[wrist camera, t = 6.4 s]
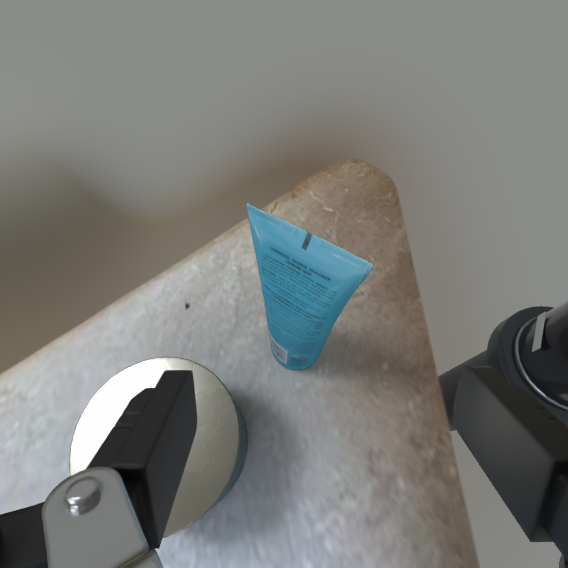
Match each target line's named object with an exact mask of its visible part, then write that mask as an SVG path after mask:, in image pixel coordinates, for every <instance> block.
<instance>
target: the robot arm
mask: <svg viewBox="0 0 568 568" xmlns="http://www.w3.org/2000/svg"><path fill="white" fill-rule="evenodd" d="M512 356H513V361H514V364H515V367H516V369H517V372H518V373H519V375H520V377H521V379H522V380H523V382H524V383H525V384H526V385H527V387H528V388H529V389H530V390H531V391H532V392H533V393H534V394H535V395H536V396H538V397H539V398H540V399H542V400H543V401H544V402H546V403H548V404H549V405H551V406H553V407H555V408H558V409H560V410H564V411H567V412H568V300H567V301H565V302H564V303H562V304H560V305H558V306H557V307H555V308H553V309H551V310H549V311H548V312H544V313H542V314H540V315H539V316H538V317H535V318H533V319H531V320H529V321H528V322H526V323H525V324H523V325H522V326H521V327H520V328H519V329H518V330H517V332H516V334H515V336H514V339H513V343H512ZM453 418H454V423H455V427H456V429H457V431H458V433H459V435H460V436H461V437H462V439H463V441H464V442H465V444H466V445H467V447H468V448H469V450H470V451H471V452H472V454H473V456H474V457H475V458H476V460H477V461H478V463H479V465H480V466H481V468H482V469H483V471H484V472H485V474H486V475H487V477H488V478H489V480H490V481H491V483H492V484H493V486H494V487H495V489H496V490H497V492H498V493H499V495H500V496H501V498H502V499H503V501H504V502H505V504H506V505H507V507H508V508H509V510H510V511H511V513H512V514H513V516H514V517H515V519H516V520H517V522H518V523H519V525H520V526H521V528H522V529H523V531H524V532H525V534H526V535H527V537H528V538H529V540H530V542H554V543H555V545H556V546H557V547H558V549H559V550H560V551H561V553H562V555H561V558H560V562H559V568H568V427H567V426H566V425H565V424H564V423H563V422H562V421H558V418H557V417H556V416H555V415H554V414H553V413H552V412H551V411H550V410H549V409H546V407H545V406H544V405H543V404H542V403H541V402H540V401H539V400H538V399H537V398H535V397H534V396H533V395H532V394H531V393H529V392H527V391H525V390H524V389H522V388H520V387H518V386H517V385H515V384H513V383H509V382H508V381H507V380H506V379H505V378H504V377H503V376H502V375H501V374H500V373H499V372H498V371H497V370H496V369H495V368H493V367H491V366H464V367H462V369H461V370H460V373H459V379H458V385H457V391H456V396H455V402H454V408H453ZM196 429H197V407H196V397H195V388H194V378H193V373H192V371H191V370H165V371H164V372H163V374H162V376H161V377H160V379H159V381H158V383H157V384H156V386H155V388H145V389H143V390H142V391H141V392H140V393H138V394H137V395H136V396H134V397H133V398H132V399H131V400H130V401H129V403H128V405H127V406H126V408H125V409H124V411H123V412H122V415H120V417H119V418H118V420H117V422H116V423H115V427H113V428H112V429H111V431H110V432H109V434H108V435H107V437H106V439H105V440H104V442H103V443H102V445H101V446H100V448H99V449H98V451H97V452H96V454H95V456H94V457H93V459H92V460H91V462H90V463H89V465H88V466H87V468H86V469H85V470H82V471H80V472H77V473H75V474H73V475H71V476H70V477H68V478H67V479H65V480H64V481H62V482H61V483H60V484H59V485H57V486H56V487H55V488H54V489H53V491H52V492H51V493H50V494H49V495H48V497H47V499H46V500H45V502H43V503H40V504H37V505H34V506H30V507H27V508H23V509H19V510H16V511H12V512H8V513H5V514H1V515H0V568H163V565H162V563H161V561H160V558H159V556H158V554H157V552H156V550H155V549H154V548H159V547H160V544H161V541H162V538H163V535H164V532H165V529H166V525H167V522H168V519H169V516H170V513H171V510H172V507H173V504H174V500H175V497H176V494H177V491H178V488H179V485H180V482H181V479H182V475H183V472H184V469H185V466H186V463H187V460H188V457H189V454H190V450H191V447H192V444H193V441H194V438H195V434H196Z"/></svg>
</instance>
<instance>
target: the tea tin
mask: <svg viewBox="0 0 568 568" xmlns="http://www.w3.org/2000/svg"><path fill="white" fill-rule="evenodd" d="M165 370H191V371H192V373H193V378H194V388H195V397H196V407H197V429H196V434H195V438H194V441H193V444H192V447H191V450H190V454H189V457H188V460H187V463H186V466H185V469H184V472H183V475H182V479H181V482H180V485H179V488H178V491H177V494H176V497H175V500H174V504H173V507H172V510H171V513H170V516H169V519H168V522H167V525H166V529H165V532H164V535H163V538H164V537H168V536H170V535H172V534H175V533H177V532H179V531H181V530H183V529H185V528H186V527H188V526H190V525H191V524H193V523H194V522H195V521H197V520H198V519H199V518H201V517H202V516H203V515H204V514H205V513H206V512H207V511H208V510H209V509H210V508H212V507H213V506H214V505H216V504H217V503H218V502H219V501H220V500H222V499H223V498H224V497H225V496H226V495H227V493H228V492H229V491H230V490H231V488H232V487H233V485H234V484H235V482H236V481H237V479H238V477H239V475H240V473H241V470H242V467H243V465H244V461H245V457H246V452H247V431H246V425H245V422H244V418H243V416H242V414H241V411H240V409H239V408H238V406H237V404H236V403H235V402H234V400H233V399H232V396H231V395H230V393H229V391H228V390H227V388H226V387H225V385H224V384H223V383H222V382H221V380H220V379H219V378H218V377H217V376H216V375H215V374H214V373H213V372H211V371H210V370H208V369H207V368H205V367H204V366H202V365H200V364H198V363H196V362H193V361H190V360H187V359H182V358H177V357H161V358H154V359H149V360H145V361H142V362H139V363H136V364H134V365H132V366H130V367H128V368H126V369H124V370H123V371H121V372H119V373H118V374H117V375H115V376H114V377H113V378H111V379H110V380H109V381H108V382H107V383H106V384H104V385H103V386H102V387H101V388H100V389H99V391H98V392H97V393H96V394H95V395H94V396H93V398H92V399H91V401H90V402H89V403H88V405H87V406H86V408H85V410H84V412H83V413H82V415H81V417H80V419H79V422H78V424H77V427H76V429H75V433H74V436H73V439H72V444H71V450H70V463H69V465H70V476H71V475H73V474H75V473H77V472H80V471H82V470H85V469H86V468H87V466H88V465H89V463H90V462H91V460H92V459H93V457H94V456H95V454H96V452H97V451H98V449H99V448H100V446H101V445H102V443H103V442H104V440H105V439H106V437H107V435H108V434H109V432H110V431H111V429H112V428H113V427H115V423H116V422H117V420H118V418H119V417H120V415H122V412H123V411H124V409H125V408H126V406H127V405H128V403H129V401H130V400H131V399H132V398H133V397H134V396H136V395H137V394H138V393H140V392H141V391H142V390H143V389H145V388H155V386H156V384H157V383H158V381H159V379H160V377H161V376H162V374H163V372H164V371H165Z"/></svg>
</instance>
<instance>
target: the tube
mask: <svg viewBox="0 0 568 568" xmlns="http://www.w3.org/2000/svg"><path fill="white" fill-rule="evenodd" d="M246 207H247V213H248V219H249V223H250V228H251V233H252V238H253V243H254V248H255V253H256V259H257V264H258V269H259V275H260V280H261V286H262V292H263V297H264V303H265V309H266V315H267V322H268V328H269V335H270V341H271V348H272V352H273V355H274V357H275V358H276V360H277V361H278V362H279V363H280V364H281V365H282V366H284V367H286V368H289V369H293V370H301V369H305V368H307V367H309V366H311V365H312V364H313V363H314V362H315V361H316V360H317V358H318V356H319V354H320V352H321V350H322V347H323V345H324V343H325V341H326V339H327V337H328V335H329V333H330V331H331V329H332V327H333V325H334V323H335V321H336V319H337V318H338V316H339V314H340V313H341V311H342V309H343V308H344V306H345V305H346V303H347V301H348V300H349V298H350V297H351V296H352V294H353V293H354V292H355V290H356V289H357V288H358V286H359V285H360V284H361V283H362V282H363V281H364V280H365V279H366V277H367V276H368V274H369V272H370V271H371V269H372V267H373V264H371V263H370V262H368V261H366V260H364V259H362V258H360V257H358V256H356V255H354V254H352V253H350V252H348V251H346V250H344V249H343V248H341V247H338V246H336V245H334V244H333V243H331V242H328V241H326V240H324V239H322V238H320V237H318V236H316V235H314V234H312V233H310V232H308V231H306V230H304V229H302V228H300V227H298V226H296V225H294V224H291V223H290V222H288V221H286V220H283V219H281V218H279V217H276V216H274V215H271V214H269V213H266V212H264V211H262V210H260V209H258V208H256V207H254V206H252V205H250V204H248V203H247V204H246Z"/></svg>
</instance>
